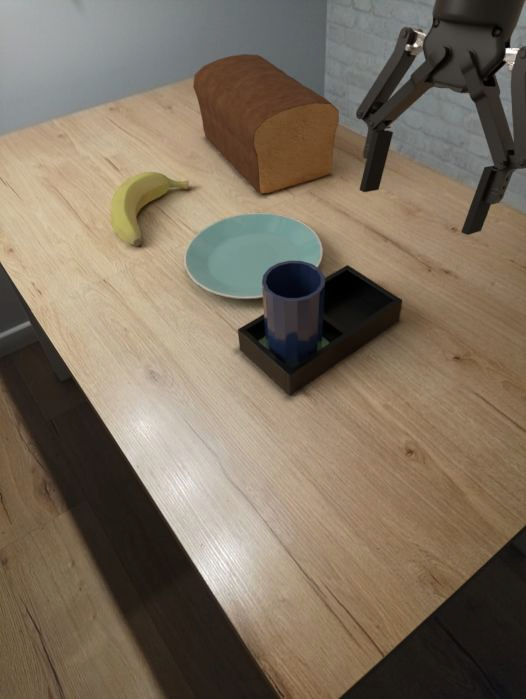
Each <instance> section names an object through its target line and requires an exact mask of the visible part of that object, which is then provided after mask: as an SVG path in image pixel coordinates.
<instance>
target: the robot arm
mask: <svg viewBox="0 0 526 699" xmlns="http://www.w3.org/2000/svg"><path fill="white" fill-rule="evenodd" d="M525 2H526V0H435V1H434V5H433V9H432V24H431V27H430V29H429V30H428V32H427V33H426V32H424V31H423V29H422V28H417V27H411V26H410V27H409V26H404V27H402V28H401V29H400V31H399V34H398V37H397V40H396V42H395V43H396V44H395V46H394V49H393V52H392V53H391V54H390V57H389V58H388V60H387V61H386V62H385V65H384V66H383V68H382V70H381V71H380V73H379V74H378V76H377V78H376V79H375V81H373V84H372V85H371V87H370V89H369V90H368V92H367V93H366V95H365V97H364V98H363V100H362V101H361V102H360V105H359V106H358V108H357V109H356V112H355V116H356V118H357V119H358V120H362V121H363V123H365V124H366V126H367V133H366V138H365V142H364V148H363V152H362V158H363V159H365V164H364V169H363V173H362V178H361V182H360V185H359V191H360V192H362V193H368V192H373V191H379V190H380V186H381V183H382V178H383V176H384V175H383V174H384V172H385V171H384V170H385V167H386V162H387V159H388V154H389V151H390V147H391V142H392V138H393V135H394V131H391V130H386V129H391V128H392V127H391V125H392V124H393V123H394V122H395V121H396V120H397V119H398V118H400V116H401V115H403V114H404V113H405V112H406V111H407V110H408V109H410V107H411V106H412V105H414V104H415V103H416V102H417V101H418V100H419V99H420V98H421V97H422V96H423V95H424V94H425V93H427V92H428V91H429V90H430V89H432V88H438V89H449V90H451V91H452V92H455V93H458V94H468V95H469V98H470V99H471V101H472V102H473V103H474V105H475V108H476V111H477V115H478V118H479V121H480V124H481V127H482V131H483V135H484V137H485V140H486V144H487V146H488V150H489V153H490V156H491V160H492V162H493V163H492V164H493V165H489V166H484V167H483V170H482V173H481V176H480V179H479V181H478V184H477V187H476V189H475V192H474V195H473V198H472V200H471V201H472V202H471V204H470V205H469V209H468V212H467V214H466V217H465V219H464V224H463V225H462V228H461V233H462V234H463V235H466V236H470V235H473V234H476V233H479V232H482V229H483V226H484V224H485V222H486V219H487V216H488V213H489V211H490V208H491V205H496V204H499V203H501V201H502V200H503V199H504V197H505V193H506V191H507V188H508V187H509V183H510V180H511V179H512V176H513V174H514V172H516V170H525V169H526V45H524V46H521V47H519V48H517V47H511V40H512V36H513V34H514V32H515V29H516V27H517V25H518V22H519V20H520V16H521V14H522V11H523V8H524V5H525ZM422 52H423V56H424V61H423V62H422V63H421V64H420V65H419V66H418V67H417V68H416V69H415V70H414V71H413V72H412V73H411V74H410V78H409V79H408V80H406V82H405V83H404V84H403V85H402V86H401V87H400V88H399V89H398V90H397V91H396V92H395V90H396V88H397V87H398V85H399V84H400V83H401V82H402V81H403V78H404V77H405V76H406V73H407V72H408V71H409V69H410V68H411V66H412V65H413V64H414V61H415V60H416V58H417V56H418V55H420V54H421V53H422ZM506 64H507V72H508V74H509V75H510V76H511V77H510V99H511V115H512V132H511V129H510V125H509V122H508V120H507V115H506V113H505V110H504V106H503V102H502V100H501V97H500V95H501V89H500V85H499V82H498V79H497V75H496V74H497V73H498V72H499V71H500V70H501V69H502V68H503V67H504V66H505V65H506ZM394 92H395V93H394ZM512 133H513V135H512Z"/></svg>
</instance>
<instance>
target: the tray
mask: <svg viewBox="0 0 526 699" xmlns="http://www.w3.org/2000/svg"><path fill="white" fill-rule="evenodd" d="M403 301H404V300H403V299H401V298H400V297H398V296H397V295H395V294H393V293H392V292H391V291H390V290H387V289H386V288H385V287H383V286H381V285H380V284H378V283H376V282H375V281H373V280H372V279H370V278H369V277H367V276H366V275H364V274H363V273H361V272H359V271H358V270H356V269H355V268H353V267H351V266H350V265H348V264H347V265H345V266H343V267H341V268H339V269H338V270H336V271H334V272H332V273H331V274H329V275H327V276H325V289H324V310H323V331H322V348H321V349H320V350H318V351H317V352H315V353H314V354H312V355H311V356H309V357H308V358H306V359H305V360H303V361H302V362H300V363H299V364H297V365H296V366H294V367H292V368H291V369H290V368H289V367H287V366H286V365H285V364H284V363H283V362H282V361H281V360H279V359H278V358H277V357H276V356H275V355H274V354H273V353H271V352H270V351H269V350H268V349H267V348H266V336H265V322H264V313H263V314H261V315H260V316H258V317H257V318H254V319H252V320H251V321H249V322H248V323H246V324H245V325H243V326H241V327H239V328H237V335H238V336H237V337H238V343H239V344H238V345H239V351H240V352H241V353H243V355H244V356H245V357H247V358H248V359H249V360H250V361H251V362H252V363H253V364H254V365H255V366H256V367H257V368H259V370H261V371H262V372H263V373H264V374H265V375H266V376H267V377H269V379H271V380H272V381H273V382H274V383H275V384H276V385H277V386H278V387H279V388H280V389H281V390H282V391H284V393H286V395H288V396H289V397H291V396H292V395H294V394H296V393H297V392H299V391H301V389H303V388H304V387H306V386H307V385H309V384H310V383H312V382H313V381H315V380H316V379H317V378H319V377H320V376H321V375H323V374H324V373H326V372H328V371H329V370H330V369H332V368H333V367H335V366H336V365H338V364H339V363H341V362H342V361H344V360H345V359H346V358H348V357H350V356H351V355H352V354H354V353H355V352H356V351H358V350H360V349H361V348H363V347H364V346H365V345H367V344H368V343H370V342H371V341H373V340H375V338H377V337H379V336H380V335H381V334H383V333H385V332H386V331H387V330H389V329H390V328H392V327H393V326H394V325H396V324H397V323H398V322H399V321H400V317H401V311H402V306H403Z"/></svg>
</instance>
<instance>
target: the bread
mask: <svg viewBox="0 0 526 699" xmlns="http://www.w3.org/2000/svg"><path fill="white" fill-rule="evenodd" d="M192 87H193V90H194V92H195V95H196V98H197V102H198V107H199V111H200V115H201V122H202V128H203V133H204V136H205V138H206V139H207V140H208V141H209V143H210V144H212V145H213V146H214V147H215V149H217V151H219V153H220V154H221V155H222V156H223V158H224V159H225V160H227V161H228V162H229V163H230V164H231V165H232V167H233V168H234V169H235V170H236V172H238V173H239V174H240V175H241V176H242V177H243V178H244V179H245V180H246V181H247V182H248V183H249V184H250V186H251V187H252V188H253V189H254V190H255V191H256V192H257V193H258V194H260V195H264V194H270V193H274V192H278V191H280V190H283V189H287V188H290V187H293V186H298V185H300V184H304V183H307V182H310V181H313V180H317V179H320V178H321V179H322V178H324V177H326V176H329V175H330V174H331V173H332V167H333V156H334V154H333V153H334V148H335V147H334V146H335V137H336V133H337V132H336V131H337V129H338V126H339V122H340V116H339V114H340V112H339V109H338V108H337V107H336V106H334V104H333V103H332V102H331V101H329V100H328V99H326V98H325V97H324V96H322V95H321V94H319V93H317V92H315V90H312V89H311V88H309V87H307V86H305V85H304V84H302V83H301V82H300V81H298V80H297V79H296V78H294V77H293V76H291V75H288V74H287V73H286V72H285V71H283V70H282V69H280V68H279V67H277V66H276V65H275V64H273V63H271V62H270V61H269V60H267V59H266V58H264V57H263V56H261V55H258V54H249V53H246V54H245V53H243V54H235V55H230V56H226V57H223V58H219V59H216V60H213V61H211V62H209V63H207V64H205V65H203V66H202V67H201V68H200V69H199V70H198V71H197V72H196V73H195V74H194V76H193V85H192Z"/></svg>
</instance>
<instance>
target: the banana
mask: <svg viewBox="0 0 526 699" xmlns="http://www.w3.org/2000/svg"><path fill="white" fill-rule="evenodd" d="M189 183H190V180H184V181H183V180H182V181H177V180H174V179H172V178H169V177H168V176H167V175H165V174H163V173H161V172H156V171H144V172H141V173H138V174H135V175H133V176H131V177H129V178H128V179H126V180H124V181H123V182H122V183H120V185H119V186H118V187H117V188H116V189H115V191H114V193H113V195H112V197H111V201H110V224H111V227H112V229H113V230H114V233H116V235H117V236H118V237H119V238H120V239H121V240H123V241H124V242H125V243H127V244H130V245H132V246H135V247H136V246H140V245H142V243H143V236H142V231H141V228H140V226H139V223H138V220H137V216H138V214H139V213H140V211H141V209H142V208H143V207H144V206H146V205H147V204H149V203H150V202H152V201H154V200H156V199H158V198H160V197H162V196H163V195H165V194H166V193H167V192H168V191H169V190H170V189H174V188H179V189H184V190H186V191H188V190H189Z"/></svg>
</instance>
